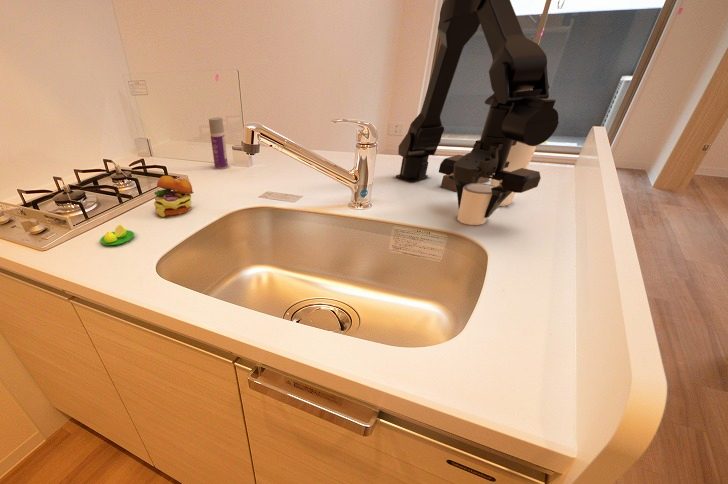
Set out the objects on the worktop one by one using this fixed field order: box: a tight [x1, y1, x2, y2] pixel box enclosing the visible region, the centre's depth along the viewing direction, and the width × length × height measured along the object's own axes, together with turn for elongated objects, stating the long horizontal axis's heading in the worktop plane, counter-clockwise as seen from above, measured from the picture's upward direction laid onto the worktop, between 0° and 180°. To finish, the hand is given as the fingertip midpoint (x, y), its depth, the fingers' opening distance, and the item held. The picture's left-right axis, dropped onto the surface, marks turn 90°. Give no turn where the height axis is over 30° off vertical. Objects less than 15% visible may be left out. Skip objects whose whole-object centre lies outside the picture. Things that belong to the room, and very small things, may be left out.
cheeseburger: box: [153, 175, 195, 218], centre depth 98 cm, size 10×11×10 cm
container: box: [208, 116, 229, 170], centre depth 124 cm, size 5×5×15 cm
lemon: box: [99, 224, 135, 246], centre depth 87 cm, size 8×8×3 cm
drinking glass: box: [490, 142, 538, 207], centre depth 83 cm, size 7×7×15 cm
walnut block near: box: [440, 174, 457, 193], centre depth 97 cm, size 5×5×3 cm
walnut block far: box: [475, 177, 490, 183], centre depth 100 cm, size 5×5×3 cm
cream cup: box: [457, 182, 496, 226], centre depth 80 cm, size 7×7×7 cm
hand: (473, 213), depth 81 cm, fingers closed on cream cup, 6 cm apart
